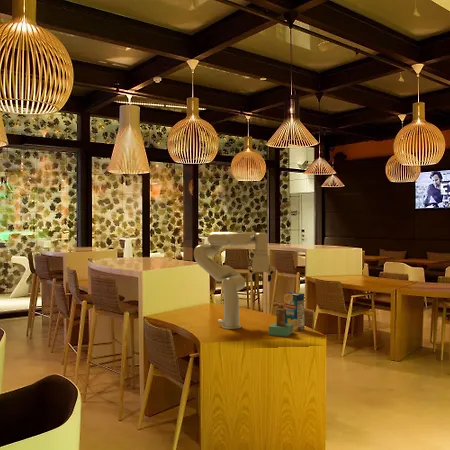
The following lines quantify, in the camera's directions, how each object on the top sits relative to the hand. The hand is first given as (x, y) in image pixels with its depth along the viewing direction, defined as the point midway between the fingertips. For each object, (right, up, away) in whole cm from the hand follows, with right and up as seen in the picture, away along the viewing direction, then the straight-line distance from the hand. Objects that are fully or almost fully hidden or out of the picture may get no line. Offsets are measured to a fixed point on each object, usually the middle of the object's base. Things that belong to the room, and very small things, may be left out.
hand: (261, 281), depth 315 cm
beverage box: (+20, -30, +5) cm, 37 cm away
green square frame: (+11, -30, -7) cm, 33 cm away
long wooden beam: (+11, -30, -7) cm, 33 cm away
